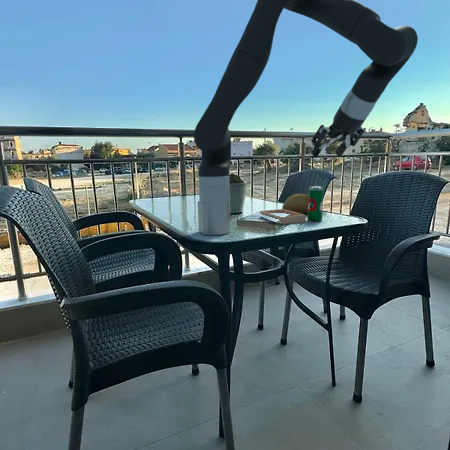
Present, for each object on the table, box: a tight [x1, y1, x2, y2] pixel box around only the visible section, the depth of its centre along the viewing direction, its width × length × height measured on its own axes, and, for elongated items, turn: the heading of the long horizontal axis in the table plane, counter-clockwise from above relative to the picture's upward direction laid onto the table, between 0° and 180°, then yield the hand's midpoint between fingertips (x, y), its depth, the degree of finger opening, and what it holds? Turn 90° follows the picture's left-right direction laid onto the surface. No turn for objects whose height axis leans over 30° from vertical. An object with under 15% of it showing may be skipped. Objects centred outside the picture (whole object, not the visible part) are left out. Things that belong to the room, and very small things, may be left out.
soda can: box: [306, 185, 324, 223], centre depth 113 cm, size 5×5×12 cm
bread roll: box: [281, 193, 308, 214], centre depth 128 cm, size 10×15×8 cm, turn 82°
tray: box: [259, 208, 307, 225], centre depth 117 cm, size 10×15×2 cm, turn 21°
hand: (325, 155), depth 97 cm, fingers open, 8 cm apart
